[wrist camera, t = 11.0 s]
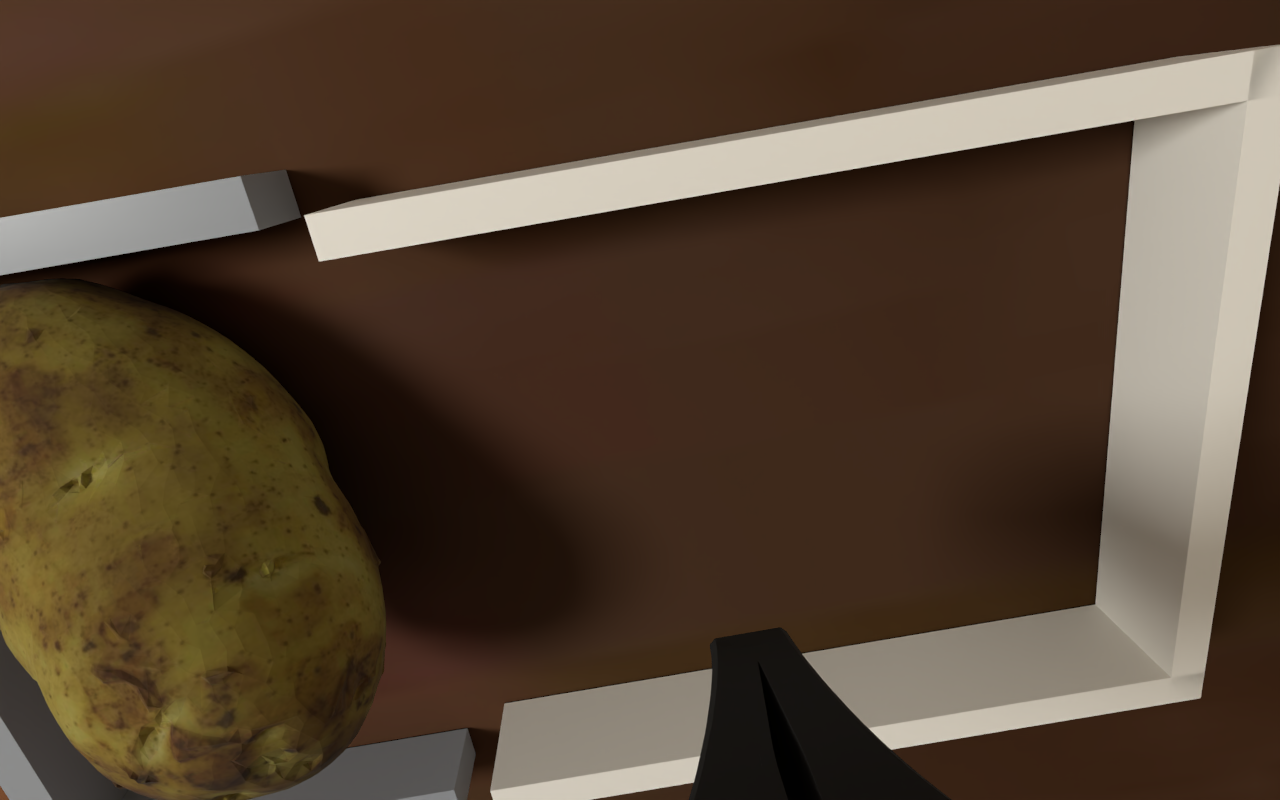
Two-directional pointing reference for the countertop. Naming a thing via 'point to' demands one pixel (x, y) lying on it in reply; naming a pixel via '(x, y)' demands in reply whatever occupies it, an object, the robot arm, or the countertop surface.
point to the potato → (176, 550)
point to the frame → (3, 690)
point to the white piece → (1139, 424)
